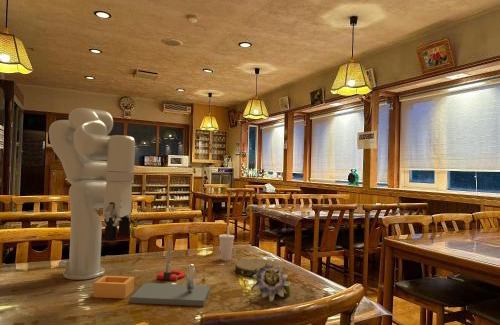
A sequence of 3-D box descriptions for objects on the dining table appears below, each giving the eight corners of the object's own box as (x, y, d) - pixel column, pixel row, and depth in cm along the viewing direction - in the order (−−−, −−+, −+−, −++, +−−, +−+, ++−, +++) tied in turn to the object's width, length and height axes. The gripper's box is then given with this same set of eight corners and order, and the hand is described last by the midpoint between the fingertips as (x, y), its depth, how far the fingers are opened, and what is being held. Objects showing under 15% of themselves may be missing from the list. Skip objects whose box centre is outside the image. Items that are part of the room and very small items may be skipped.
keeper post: (185, 292, 99) (186, 264, 99) (187, 290, 101) (188, 262, 101) (192, 293, 99) (193, 264, 99) (194, 290, 101) (195, 263, 101)
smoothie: (233, 261, 140) (234, 226, 140) (217, 261, 140) (218, 226, 140) (234, 257, 146) (235, 224, 146) (218, 257, 146) (220, 223, 146)
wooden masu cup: (93, 297, 98) (94, 282, 98) (104, 289, 104) (104, 275, 104) (125, 298, 97) (125, 284, 97) (133, 290, 104) (134, 276, 104)
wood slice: (286, 277, 123) (286, 268, 123) (243, 280, 117) (244, 271, 117) (268, 265, 138) (268, 257, 138) (230, 267, 132) (230, 259, 132)
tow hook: (165, 272, 124) (153, 279, 114) (167, 236, 124) (156, 239, 115) (187, 275, 122) (178, 282, 113) (190, 237, 123) (180, 241, 114)
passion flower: (270, 320, 99) (250, 289, 96) (258, 299, 109) (240, 271, 106) (302, 296, 101) (284, 266, 97) (287, 278, 111) (270, 249, 108)
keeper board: (130, 302, 95) (130, 297, 95) (145, 287, 107) (145, 282, 107) (203, 306, 94) (203, 300, 94) (210, 290, 106) (210, 285, 106)
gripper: (119, 176, 110) (116, 231, 110) (93, 178, 93) (90, 242, 93) (142, 177, 110) (140, 232, 110) (121, 179, 93) (118, 243, 93)
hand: (117, 236), depth 101 cm, fingers open, 9 cm apart
